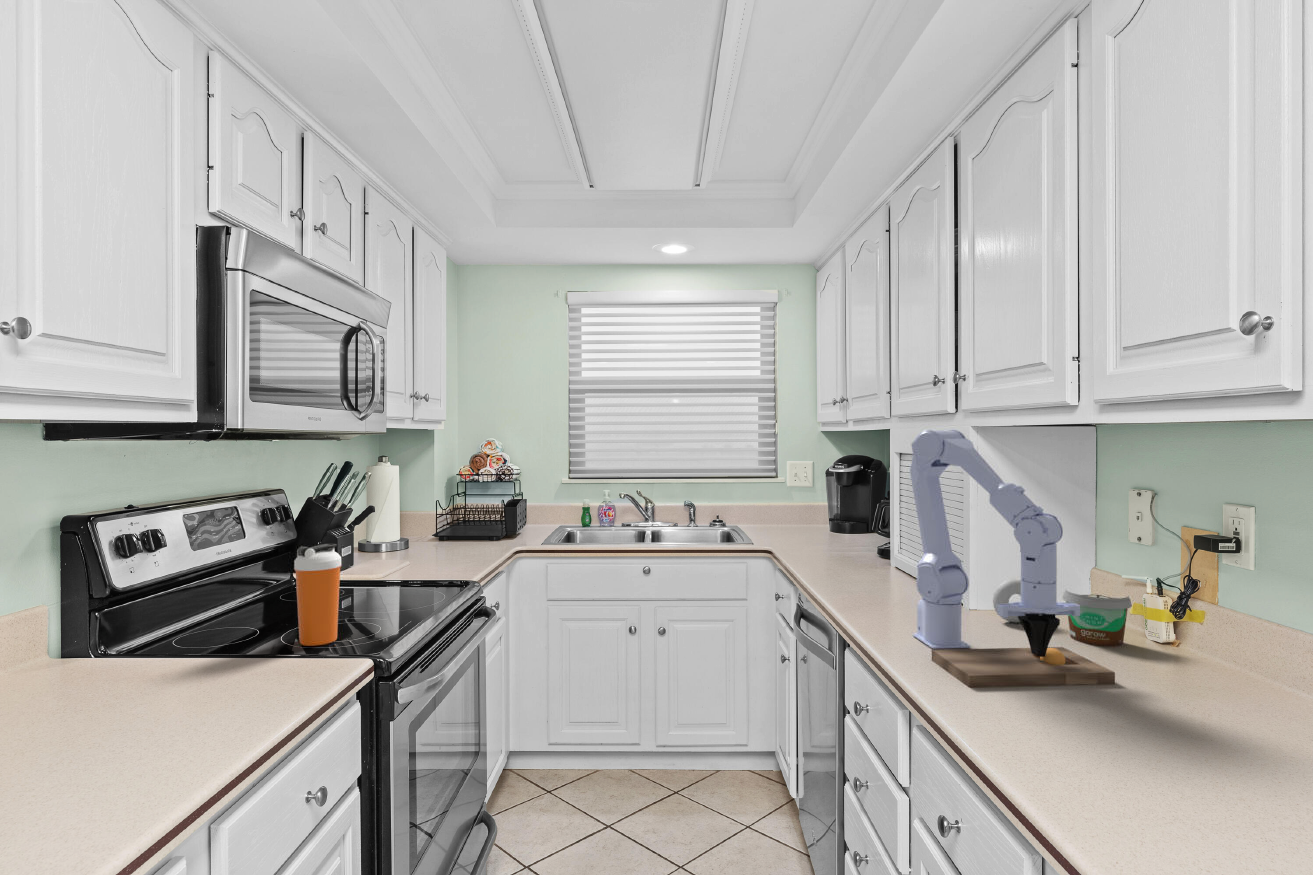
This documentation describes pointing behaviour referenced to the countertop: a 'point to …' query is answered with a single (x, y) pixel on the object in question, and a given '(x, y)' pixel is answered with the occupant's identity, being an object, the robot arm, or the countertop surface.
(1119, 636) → the food container
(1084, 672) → the board
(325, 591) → the shaker bottle
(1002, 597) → the donut
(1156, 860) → the countertop surface
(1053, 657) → the ball
